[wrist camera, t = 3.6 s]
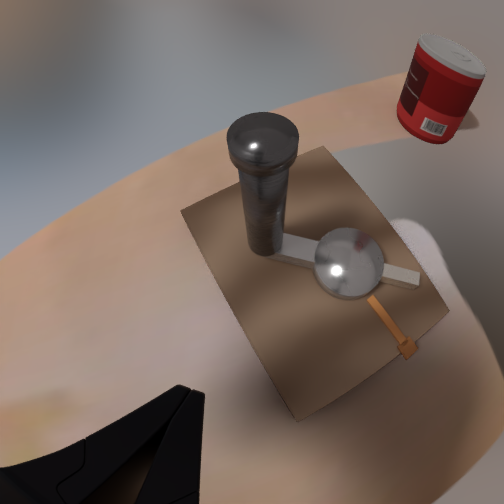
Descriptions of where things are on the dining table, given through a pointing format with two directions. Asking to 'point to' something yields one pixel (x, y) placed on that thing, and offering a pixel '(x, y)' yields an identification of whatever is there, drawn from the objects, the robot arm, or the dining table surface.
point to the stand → (314, 287)
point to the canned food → (438, 88)
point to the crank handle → (274, 207)
